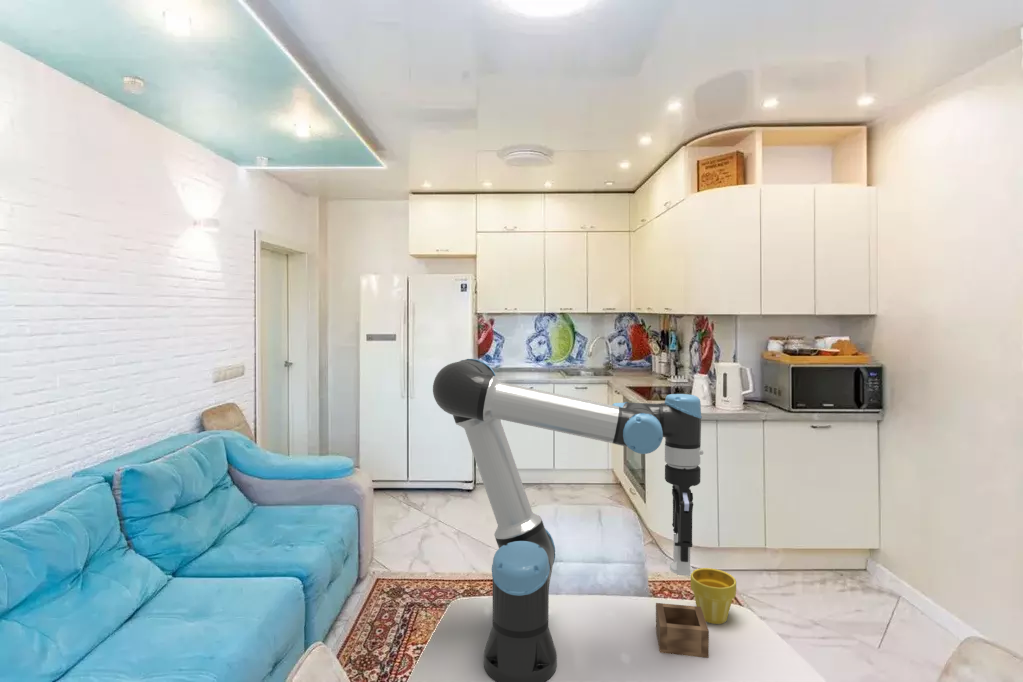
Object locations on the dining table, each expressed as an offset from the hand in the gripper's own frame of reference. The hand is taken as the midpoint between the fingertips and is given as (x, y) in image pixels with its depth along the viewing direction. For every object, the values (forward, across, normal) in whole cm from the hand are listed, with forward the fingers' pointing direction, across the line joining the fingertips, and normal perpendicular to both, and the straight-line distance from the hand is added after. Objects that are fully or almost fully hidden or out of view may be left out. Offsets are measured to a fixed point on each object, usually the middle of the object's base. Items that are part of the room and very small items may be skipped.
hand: (681, 568), depth 119 cm
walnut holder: (+17, 0, 0) cm, 17 cm away
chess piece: (+1, 0, 0) cm, 1 cm away
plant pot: (+17, +12, -9) cm, 22 cm away
